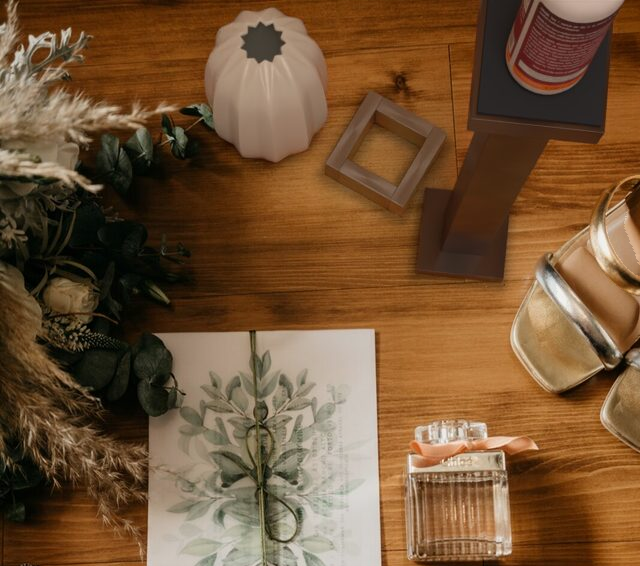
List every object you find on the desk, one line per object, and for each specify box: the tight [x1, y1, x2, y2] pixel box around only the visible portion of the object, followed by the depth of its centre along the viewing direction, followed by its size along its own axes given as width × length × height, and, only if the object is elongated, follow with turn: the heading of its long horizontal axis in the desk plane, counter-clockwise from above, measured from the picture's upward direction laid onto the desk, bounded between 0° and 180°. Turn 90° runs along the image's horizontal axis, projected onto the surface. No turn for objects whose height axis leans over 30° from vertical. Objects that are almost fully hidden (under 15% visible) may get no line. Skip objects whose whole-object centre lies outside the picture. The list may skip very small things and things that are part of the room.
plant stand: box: [415, 0, 614, 284], centre depth 69 cm, size 10×10×31 cm
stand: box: [324, 89, 449, 218], centre depth 84 cm, size 10×10×2 cm
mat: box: [477, 0, 609, 127], centre depth 54 cm, size 9×9×1 cm
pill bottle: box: [506, 0, 625, 95], centre depth 48 cm, size 6×6×11 cm
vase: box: [203, 6, 329, 163], centre depth 79 cm, size 14×14×13 cm
